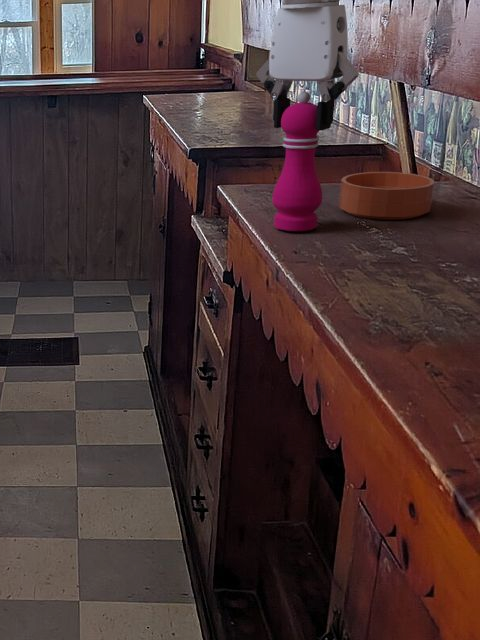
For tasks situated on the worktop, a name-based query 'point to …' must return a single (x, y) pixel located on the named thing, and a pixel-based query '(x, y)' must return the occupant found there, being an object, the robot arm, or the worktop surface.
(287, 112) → the pepper mill
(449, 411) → the worktop surface
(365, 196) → the bowl
